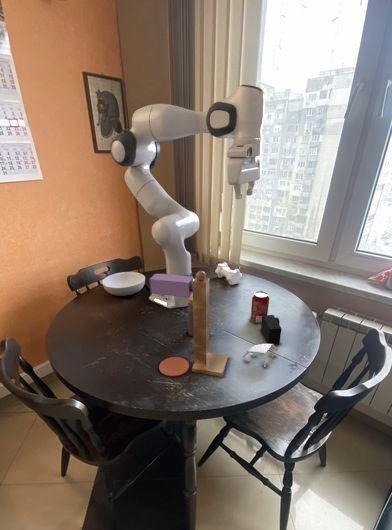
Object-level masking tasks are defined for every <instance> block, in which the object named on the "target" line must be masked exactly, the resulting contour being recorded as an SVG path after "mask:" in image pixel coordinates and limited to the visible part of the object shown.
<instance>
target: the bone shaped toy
mask: <svg viewBox="0 0 392 530" xmlns="http://www.w3.org/2000/svg"><path fill="white" fill-rule="evenodd" d="M214 272H215V274H217V277H218V278H219V279H222V278H223V277H224V278H226V281H228V283H229V285H230V286H234V285H236V284H240V281H241V279H242V277H243V274H242V273H241V272H240V269H238V268H235V269H231V268H230V267H229V266H228V263H227V262H224V261H223V263H217V267H216V269H214Z"/></svg>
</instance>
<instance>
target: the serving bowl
mask: <svg viewBox="0 0 392 530" xmlns="http://www.w3.org/2000/svg"><path fill="white" fill-rule="evenodd" d="M145 283H146V276H145V275H144V274H143V273H140V272H135V271H121V272H117V273H112V274H110V275H108V277H107V276H106V277H105V278H103V280H102V282H101V284H102V287H103V288H104V290H105V291H106V292H107V293H108V294H111V295H112V296H117V297H126V296H131V295H134V294H136V293H138V292H140V291H141V290H142V289H143V288H144V286H145Z"/></svg>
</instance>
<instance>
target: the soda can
mask: <svg viewBox="0 0 392 530" xmlns="http://www.w3.org/2000/svg"><path fill="white" fill-rule="evenodd" d="M269 305H270V297H269V293H268V292H266V291H263V290H258V291H257V290H256V291H255V292H254V293H253V295H252V297H251V306H250V316H249V317H250V321H251V322H253V323H254V324H255V323H256V324H262V316H263V315H269V307H270V306H269Z"/></svg>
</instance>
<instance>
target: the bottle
mask: <svg viewBox="0 0 392 530" xmlns="http://www.w3.org/2000/svg"><path fill="white" fill-rule="evenodd" d="M188 299H189V302H188V305H189V306H187V309H186V310H187V332H188V335H190V336H191V337H194V324H193V295H192V296H190V297H189V298H188Z"/></svg>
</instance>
